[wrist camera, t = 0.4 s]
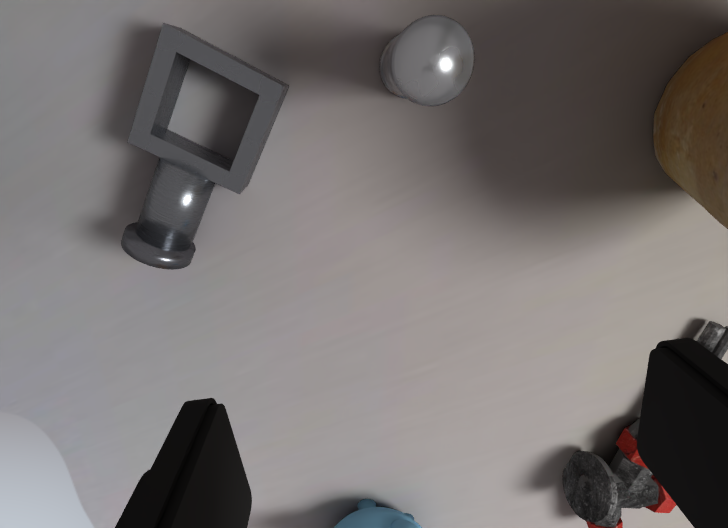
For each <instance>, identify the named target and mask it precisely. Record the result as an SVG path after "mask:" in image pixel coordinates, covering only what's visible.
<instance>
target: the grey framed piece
mask: <svg viewBox="0 0 728 528" xmlns="http://www.w3.org/2000/svg"><path fill="white" fill-rule="evenodd" d="M190 59H191V60H193V61H195V62H197V63H199V64H200V65H202V66H204V67H206V68H208V69H210V70H212V71H214V72H216V73H218V74H220V75H222V76H224V77H226V78H228V79H229V80H231V81H233V82H235V83H237V84H239V85H241V86H243V87H245V88H247V89H249V90H251V91H253V92H255V93H256V94H258V95H260V96H259V98H258V101H257V103H256V106H255V108H254V111H253V113H252V116H251V118H250V121H249V123H248V126H247V128H246V131H245V134H244V136H243V139H242V141H241V144H240V146H239V149H238V151H237V154H236V156H235V159H234V161H232V160H230V159H228V158H226V157H224V156H222V155H220V154H218V153H216V152H214V151H211V150H209V149H207V148H205V147H203V146H201V145H199V144H197V143H195V142H193V141H191V140H189V139H186V138H184V137H182V136H180V135H178V134H176V133H174V132H172V131H170V130H168V129H167V128H168V125H169V121H170V118H171V115H172V112H173V109H174V106H175V103H176V100H177V97H178V94H179V91H180V88H181V85H182V82H183V79H184V76H185V73H186V70H187V67H188V64H189V61H190ZM288 88H289V85H287V84H285V83H283V82H282V81H280V80H278V79H276V78H274V77H272V76H270V75H268V74H267V73H265V72H263V71H261V70H259V69H257V68H255V67H253V66H251V65H250V64H248V63H246V62H244V61H242V60H240V59H238V58H236V57H234V56H233V55H231V54H229V53H227V52H225V51H223V50H221V49H219V48H217V47H216V46H214V45H212V44H210V43H208V42H206V41H204V40H202V39H200V38H199V37H197V36H195V35H193V34H191V33H189V32H187V31H185V30H183V29H182V28H179V27H176V26H172V25H169V24H165V23H163V26H162V29H161V32H160V36H159V39H158V42H157V46H156V49H155V52H154V56H153V59H152V62H151V65H150V69H149V72H148V75H147V79H146V82H145V85H144V89H143V92H142V95H141V99H140V102H139V105H138V109H137V112H136V115H135V119H134V122H133V125H132V129H131V132H130V135H129V138H128V143H130V144H132V145H135V146H137V147H139V148H141V149H143V150H145V151H147V152H150V153H152V154H154V155H156V156H158V157H159V160H158V163H157V166H156V169H155V172H154V175H153V178H152V181H151V185H150V188H149V191H148V194H147V197H146V200H145V203H144V206H143V209H142V212H141V215H140V218H139V221H138V222H136V223H132V224H130V225H128V226H127V227H126V228H125V231H124V234H123V238H122V241H121V245H122V248H123V249H124V251H125V252H126V253H127V254H128V255H130V256H131V257H132V258H134V259H136V260H137V261H139V262H142V263H144V264H147V265H149V266H153V267H157V268H162V269H181V268H184V267H186V266H188V265H189V264H190V263H191V260H192V258H193V255H194V253H195V250H196V248H195V245H194V243H193V239H194V237H195V234H196V232H197V229H198V226H199V224H200V221H201V219H202V216H203V213H204V211H205V208H206V206H207V203H208V201H209V198H210V195H211V193H212V190H213V188H214V185H215V183H216V184H219V185H221V186H223V187H225V188H227V189H229V190H232V191H234V192H236V193H238V194H240V193H241V192H242V191H243V190H244V189H245V188H246V187H247V186H248V184H249V182H250V179H251V177H252V175H253V172H254V170H255V167H256V165H257V163H258V160H259V158H260V155H261V153H262V151H263V148H264V146H265V143H266V141H267V138H268V136H269V134H270V131H271V129H272V126H273V124H274V122H275V119H276V117H277V114H278V112H279V110H280V107H281V105H282V102H283V100H284V98H285V95H286V93H287V90H288Z"/></svg>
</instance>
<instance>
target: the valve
mask: <svg viewBox="0 0 728 528" xmlns="http://www.w3.org/2000/svg"><path fill="white" fill-rule="evenodd" d="M697 342H698V343H700V344H701V345H702V346H704V347H705V348H706V349H708V350H709V351H710V352H712V353H713V354H715V355H716V356H717V357H719V358H720V359H722V357H723V356H724V354H725V352H726V351H727V349H728V326H726V327H725V328H724V327H723V326H721V325H720V324H717V323H715V322H712V321H709V323H708V325H707V326H706V328H705V330H704V331H703V333H702V335H701V336H700V338H699V340H698V341H697ZM639 423H640V419H638V420H637V421H636V422H634V423H633V424H632V425H629V426H628V427H626V428H624V430H623V432H622V433H621V435H620V437H619V439H618V440H617V442H616V445H617V446H618V447H619V450H618V451H617V453H616V455H615V457H614V458H613V460H612V462H611V464H610V466H608V465H607V464H606V462H605V461H604V460H603V459H602V458H601V457H599V456H598V455H596V454H594V453H591V452H585V451H580V452H576V453H574V455H573V456H572V458H571V459H570V461H569V463H568V464H567V466H566V467H565V469H564V471H563V487H564V492H565V495H566V498H567V500H568V502H569V504H570V506H571V508H572V509H573V510H574V512H575V513H576V514H577V515H578V516H579V517H580V518H582V519H584V520H585V521H586V522H587V525H588V527H589V528H622V520H621V518H620V517H621V508H642V507H646V508H648V509H649V510H651V511H653V512H658V513H670V512H671V510H672V509H673V508H674V507H675V506H676V503H675V502H674V501H673V500H672V498H671V497H670V496H669V494H668V493H667V492H666V491H665V489H664V488H663V487H662V485H661V484H660V483H659V482H658V480H657V479H656V478H655V476H654V475H653V474H652V473H651V471H650V470H649V469H648V468H647V466H646V465H645V464H644V462H643V461H642V459H641V458H640V456H639V453H638V450H637V437H638V430H639Z"/></svg>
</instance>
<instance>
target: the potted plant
mask: <svg viewBox="0 0 728 528" xmlns="http://www.w3.org/2000/svg"><path fill="white" fill-rule="evenodd" d="M653 140H654V149H655V157H656V158H657V160H658V162H659V163H660V165H661V167H662V168H663V170H664V171H665V173H666V174H667V175H668V176H669V177H670V178H671V179H673V180H674V181H675V182H676V183H677V184H678V185H679V186H680V187H681V188H682V189H683V190H684V191H686V192H687V193H688V194H689V195H690V196H691V197H692V198H694V199H695V200H696V201H697V202H698V203H699V204H700V205H702V206H703V207H704V208H705V209H706V210H707V211H708V212H709V213H710V214H711V215H712V216H713V217H714V218H715V219H716V220H717V221H719V222H720V223H721V224H722V225H723V226H725V227H726V228H727V229H728V32H727V33H725V34H723V35H721V36H719V37H717V38H714V39H713V40H711V41H710V42H709V43H707V44H706V45H705V46H703V47H702V48H700V49H699V50H698V51H696V52H695V53H694V54H692V55H691V56H690V57H689V58H688V59H687V60H686V61H685V62H684V64H683V65H682V66H681V67H680V69H679V70H678V71H677V72H676V73H675V75H674V76H673V77H672V78H671V79H670V81H669V82H668V84H667V86H666V88H665V90H664V93H663V95H662V97H661V99H660V102H659V104H658V106H657V109H656V111H655V113H654V131H653Z"/></svg>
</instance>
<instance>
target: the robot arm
mask: <svg viewBox="0 0 728 528" xmlns="http://www.w3.org/2000/svg"><path fill="white" fill-rule="evenodd" d="M637 450H638V453H639V456H640V458H641V459H642V461H643V462H644V464H645V465H646V466H647V468H648V469H649V470H650V471H651V473H652V474H653V475H654V476H655V478H656V479H657V480H658V482H659V483H660V484H661V485H662V487H663V488H664V489H665V491H666V492H667V493H668V494H669V496H670V497H671V498H672V500H673V501H674V502H675V503H676V505H677V506H678V507H679V508H680V510H681V511H682V512H683V514H684V515H685V516H686V517H687V519H688V520H689V521H690V523H691V524H692V525H693V526H694V528H728V364H727V363H725V362H724V361H723V360H721V359H720V358H719V357H717V356H716V355H715V354H713V353H712V352H710V351H709V350H708V349H706V348H705V347H704V346H702V345H701V344H700V343H698V342H697V341H695V340H693V339H691V338H683V339H675V340H667V341H662V342H659V343H658V345H657V346H656V349H653V350H652V351H651V352H650V355H649V362H648V369H647V376H646V382H645V389H644V396H643V403H642V410H641V416H640V423H639V430H638V437H637ZM251 504H252V497H251V490H250V487H249V484H248V480H247V477H246V474H245V471H244V467H243V464H242V461H241V458H240V454H239V451H238V448H237V444H236V441H235V438H234V435H233V431H232V428H231V425H230V422H229V418H228V415H227V412H226V409H225V406H224V405H223V404H217V403H216V401H215V400H214V399H213V398H208V399H200V400H192V401H187V402H185V403H184V404H183V406H182V408H181V410H180V412H179V414H178V416H177V418H176V420H175V422H174V424H173V426H172V428H171V430H170V432H169V434H168V436H167V438H166V440H165V442H164V444H163V446H162V448H161V450H160V452H159V454H158V456H157V458H156V460H155V462H154V464H153V466H152V467H151V469H150V470H148V471H147V472H146V473H144V474H143V476H142V477H141V479H140V480H139V482H138V484H137V486H136V488H135V490H134V492H133V494H132V496H131V498H130V500H129V502H128V504H127V505H126V507H125V509H124V511H123V513H122V515H121V517H120V519H119V521H118V523H117V525H116V527H115V528H247V525H248V520H249V516H250V511H251Z"/></svg>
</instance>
